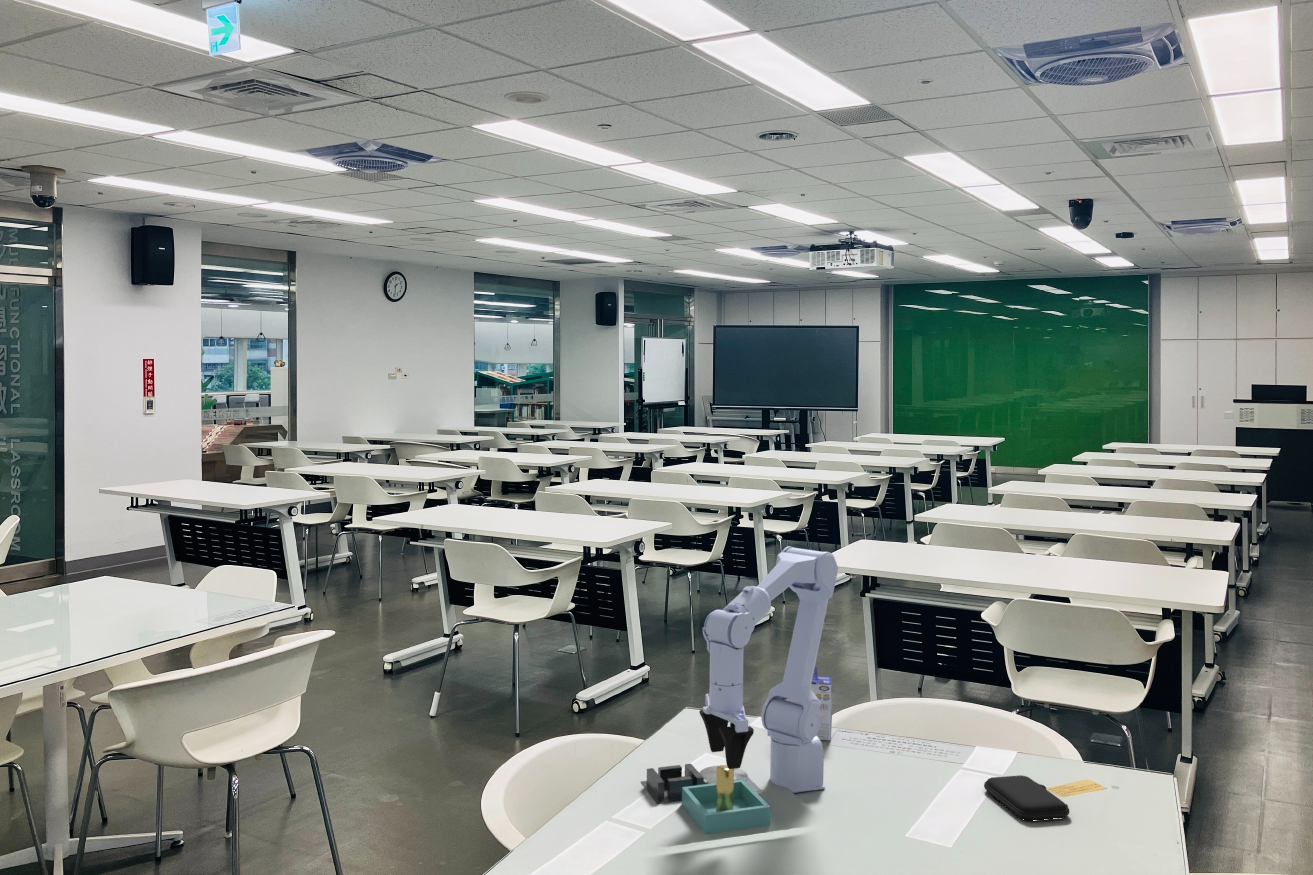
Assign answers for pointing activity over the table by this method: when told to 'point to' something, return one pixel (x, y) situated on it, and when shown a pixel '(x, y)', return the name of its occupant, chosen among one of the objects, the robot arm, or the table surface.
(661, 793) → the plate
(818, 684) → the ink cartridge box
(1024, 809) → the carrying case or bag
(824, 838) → the table surface
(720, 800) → the pin
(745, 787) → the tray
